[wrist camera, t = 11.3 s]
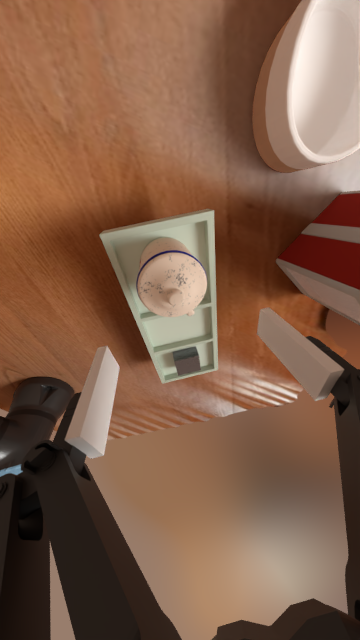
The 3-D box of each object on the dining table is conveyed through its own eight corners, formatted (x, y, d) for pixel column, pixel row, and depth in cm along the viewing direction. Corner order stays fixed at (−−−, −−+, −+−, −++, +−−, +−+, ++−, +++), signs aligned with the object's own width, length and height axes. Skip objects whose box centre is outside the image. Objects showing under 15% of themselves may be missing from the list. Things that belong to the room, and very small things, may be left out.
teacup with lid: (126, 254, 26) (116, 288, 17) (177, 222, 25) (196, 241, 16) (165, 308, 33) (173, 352, 24) (206, 285, 32) (231, 323, 23)
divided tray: (161, 374, 48) (162, 383, 46) (103, 230, 25) (99, 234, 23) (214, 361, 49) (218, 369, 47) (207, 208, 25) (214, 210, 23)
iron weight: (176, 366, 45) (178, 375, 43) (172, 351, 41) (174, 361, 39) (198, 361, 45) (200, 370, 43) (195, 346, 42) (198, 355, 39)
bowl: (368, -44, 20) (480, -171, 14) (353, 138, 30) (413, 117, 23) (239, 53, 23) (277, -13, 16) (262, 193, 32) (292, 189, 26)
